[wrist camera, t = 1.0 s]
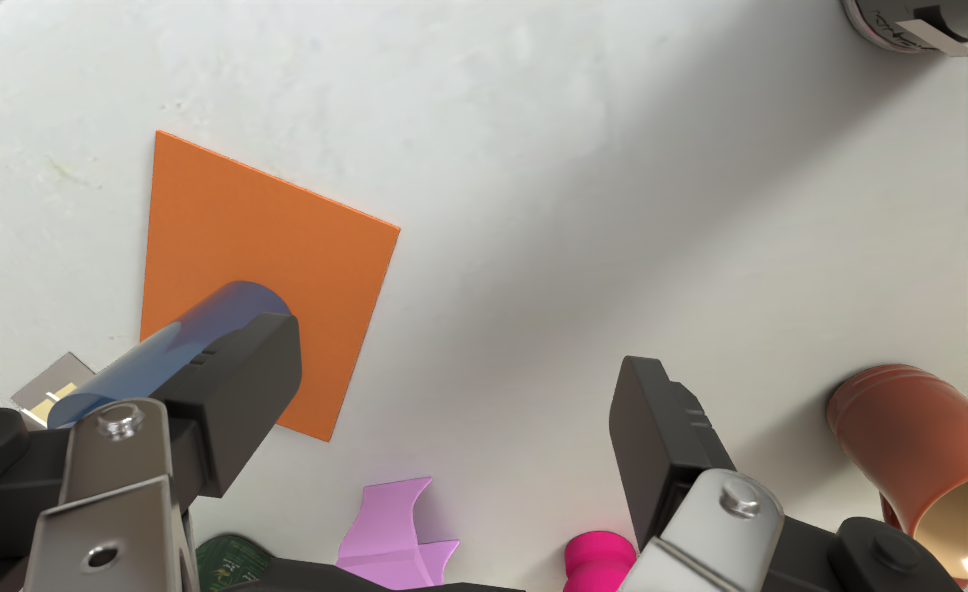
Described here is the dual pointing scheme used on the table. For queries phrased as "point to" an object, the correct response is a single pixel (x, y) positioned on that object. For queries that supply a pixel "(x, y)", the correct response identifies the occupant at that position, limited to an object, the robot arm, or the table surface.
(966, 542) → the mug
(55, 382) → the layered building model
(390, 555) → the toy chair
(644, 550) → the robot arm
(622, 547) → the pepper mill
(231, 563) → the coffee jar
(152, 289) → the cloth
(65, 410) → the bottle
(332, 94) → the table surface
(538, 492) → the table surface
